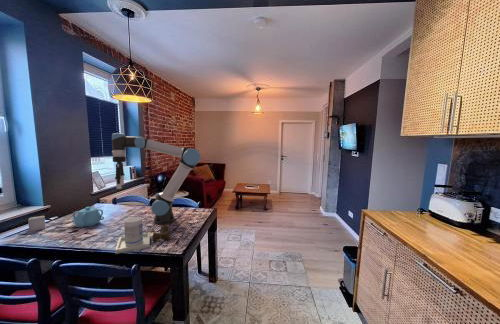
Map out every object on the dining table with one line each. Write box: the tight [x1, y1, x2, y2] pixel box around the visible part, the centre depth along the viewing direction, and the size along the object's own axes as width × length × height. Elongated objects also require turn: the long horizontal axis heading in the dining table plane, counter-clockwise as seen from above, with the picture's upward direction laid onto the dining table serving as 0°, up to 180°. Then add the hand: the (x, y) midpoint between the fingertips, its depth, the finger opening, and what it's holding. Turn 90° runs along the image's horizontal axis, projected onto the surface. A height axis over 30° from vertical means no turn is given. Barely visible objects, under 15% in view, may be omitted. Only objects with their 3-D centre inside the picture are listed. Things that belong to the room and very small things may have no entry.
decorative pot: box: [72, 206, 105, 228], centre depth 151 cm, size 16×16×14 cm
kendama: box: [152, 224, 171, 242], centre depth 133 cm, size 6×10×20 cm
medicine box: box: [27, 215, 46, 232], centre depth 142 cm, size 8×4×9 cm, turn 134°
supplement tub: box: [123, 216, 144, 246], centre depth 123 cm, size 10×10×15 cm
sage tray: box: [114, 232, 151, 255], centre depth 124 cm, size 17×17×2 cm
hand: (120, 186), depth 139 cm, fingers open, 13 cm apart
